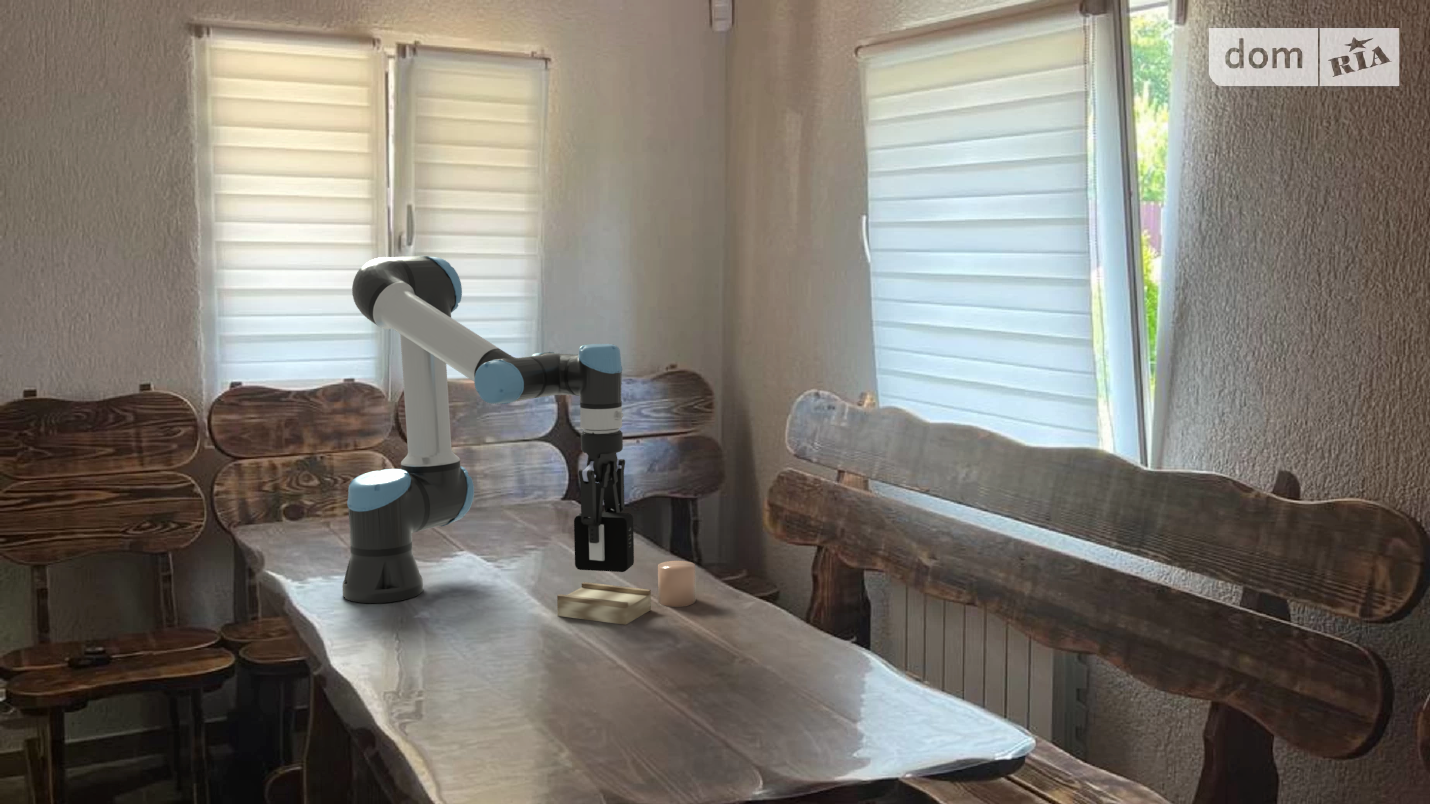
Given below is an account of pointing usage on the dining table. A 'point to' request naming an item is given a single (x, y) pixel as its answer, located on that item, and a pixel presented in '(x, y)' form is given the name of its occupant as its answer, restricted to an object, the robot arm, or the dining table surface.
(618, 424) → the robot arm
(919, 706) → the dining table surface
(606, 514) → the electronic device
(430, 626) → the dining table surface
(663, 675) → the dining table surface
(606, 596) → the stand
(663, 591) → the peach rounded cylinder
